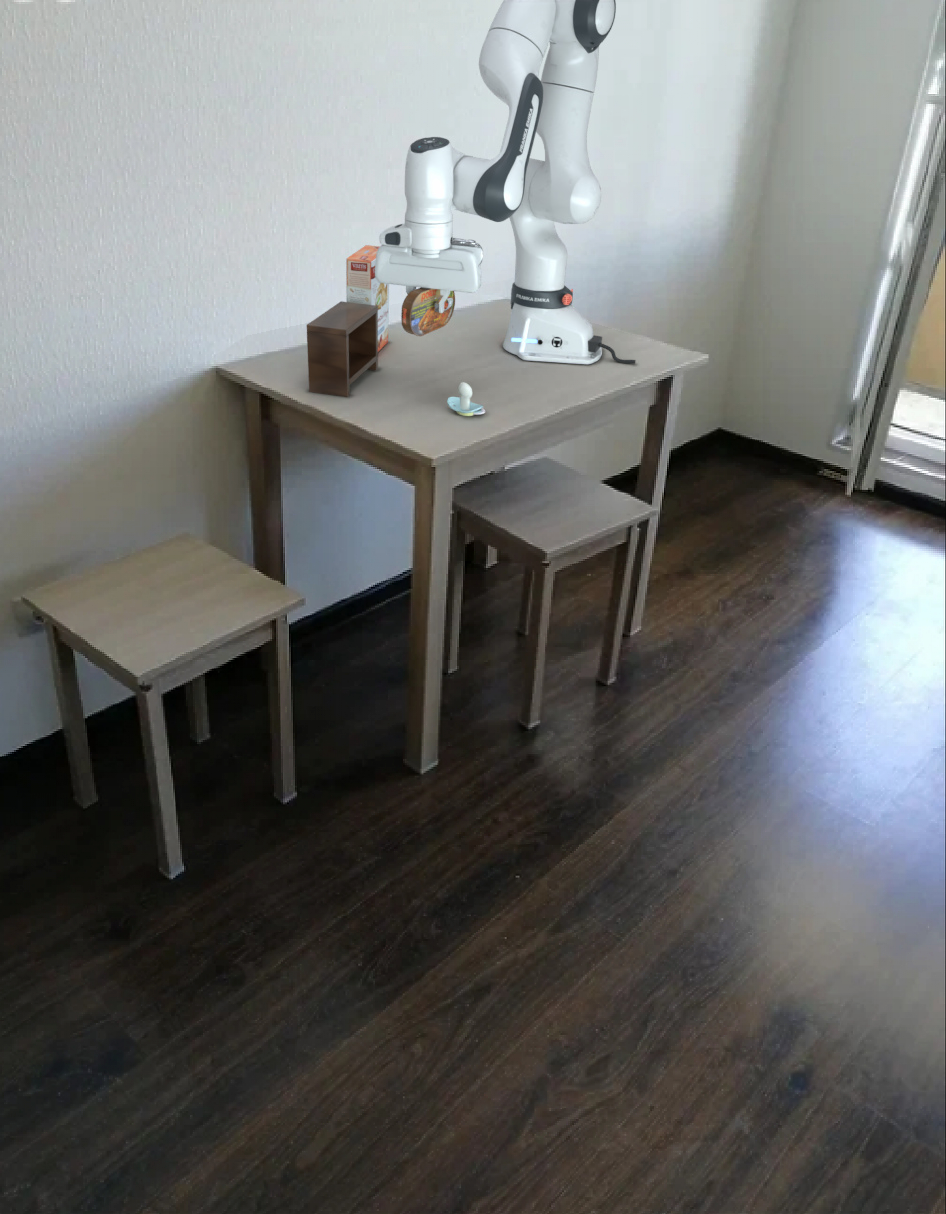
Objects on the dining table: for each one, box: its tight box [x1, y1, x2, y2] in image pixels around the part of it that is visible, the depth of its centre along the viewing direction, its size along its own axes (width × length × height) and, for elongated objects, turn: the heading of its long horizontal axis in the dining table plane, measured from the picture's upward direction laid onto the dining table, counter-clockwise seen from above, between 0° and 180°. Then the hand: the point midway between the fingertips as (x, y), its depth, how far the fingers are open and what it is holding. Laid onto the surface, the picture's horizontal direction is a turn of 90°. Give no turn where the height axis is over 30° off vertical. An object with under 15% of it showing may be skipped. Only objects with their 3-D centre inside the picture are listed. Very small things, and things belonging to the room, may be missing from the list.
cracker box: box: [345, 244, 390, 353], centre depth 212 cm, size 14×6×21 cm, turn 168°
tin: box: [400, 287, 456, 337], centre depth 189 cm, size 15×3×8 cm, turn 147°
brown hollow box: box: [306, 300, 379, 398], centre depth 197 cm, size 8×18×13 cm, turn 165°
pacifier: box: [446, 381, 486, 417], centre depth 187 cm, size 7×6×6 cm
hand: (427, 310), depth 189 cm, fingers closed on tin, 3 cm apart
